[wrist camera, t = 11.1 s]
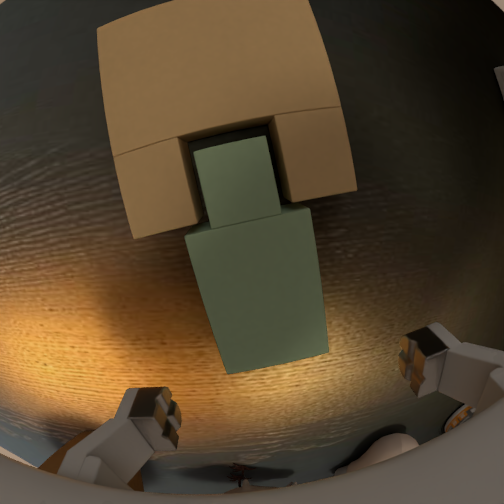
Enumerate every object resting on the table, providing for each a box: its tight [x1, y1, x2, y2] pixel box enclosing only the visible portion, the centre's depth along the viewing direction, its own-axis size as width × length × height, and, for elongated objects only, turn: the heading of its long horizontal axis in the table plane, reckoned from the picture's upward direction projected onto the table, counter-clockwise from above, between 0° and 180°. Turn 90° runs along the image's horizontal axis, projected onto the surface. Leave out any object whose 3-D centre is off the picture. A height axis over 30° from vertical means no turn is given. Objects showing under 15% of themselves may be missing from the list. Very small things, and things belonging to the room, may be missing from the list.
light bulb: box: [334, 433, 419, 476], centre depth 23 cm, size 7×7×11 cm
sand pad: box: [97, 0, 357, 239], centre depth 14 cm, size 13×12×3 cm
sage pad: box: [184, 136, 329, 374], centre depth 16 cm, size 13×6×3 cm, turn 12°
